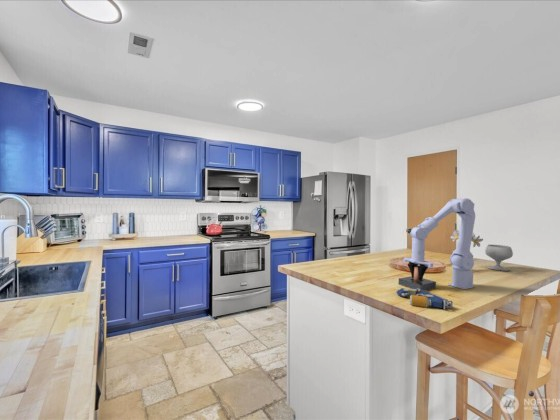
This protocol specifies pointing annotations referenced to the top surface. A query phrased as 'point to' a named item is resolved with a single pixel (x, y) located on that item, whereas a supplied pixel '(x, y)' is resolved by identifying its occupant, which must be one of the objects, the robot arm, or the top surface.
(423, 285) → the collar block
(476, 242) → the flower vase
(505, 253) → the chalice
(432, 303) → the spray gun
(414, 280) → the pin
